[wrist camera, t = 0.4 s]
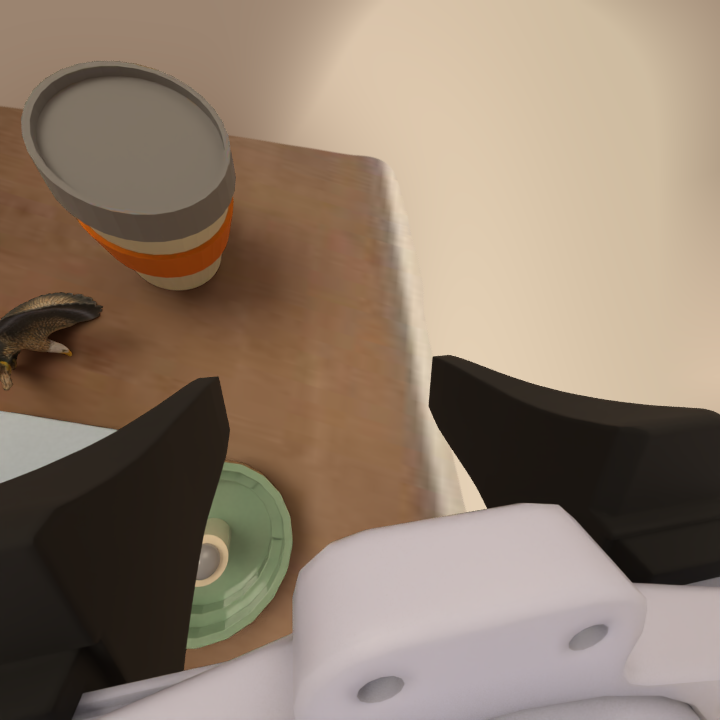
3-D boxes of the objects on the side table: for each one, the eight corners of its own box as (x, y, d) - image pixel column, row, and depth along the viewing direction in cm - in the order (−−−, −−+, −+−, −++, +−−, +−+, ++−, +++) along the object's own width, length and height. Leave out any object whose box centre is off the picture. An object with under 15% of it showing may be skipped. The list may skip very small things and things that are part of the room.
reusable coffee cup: (262, 256, 40) (271, 155, 26) (177, 330, 35) (132, 256, 21) (176, 180, 38) (137, 31, 25) (76, 246, 34) (-42, 108, 20)
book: (85, 635, 27) (73, 650, 25) (-88, 630, 25) (-118, 647, 23) (152, 435, 32) (146, 435, 30) (13, 412, 29) (-5, 410, 27)
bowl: (268, 626, 31) (271, 650, 28) (99, 620, 28) (77, 646, 24) (300, 471, 35) (306, 474, 32) (155, 448, 32) (144, 449, 28)
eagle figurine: (61, 405, 29) (129, 321, 31) (-50, 378, 23) (44, 275, 25) (26, 366, 33) (90, 292, 34) (-79, 334, 26) (5, 245, 28)
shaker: (225, 561, 31) (219, 596, 24) (185, 557, 30) (166, 593, 23) (235, 520, 32) (233, 541, 25) (196, 515, 31) (182, 536, 24)
